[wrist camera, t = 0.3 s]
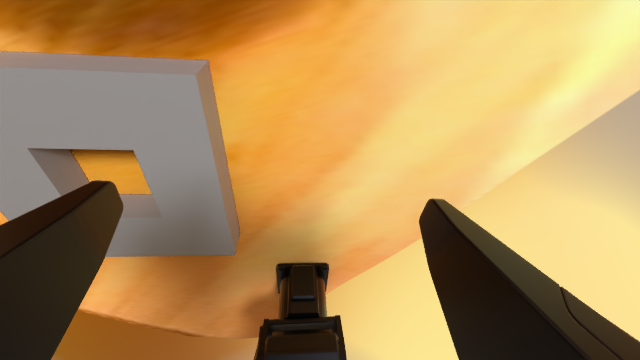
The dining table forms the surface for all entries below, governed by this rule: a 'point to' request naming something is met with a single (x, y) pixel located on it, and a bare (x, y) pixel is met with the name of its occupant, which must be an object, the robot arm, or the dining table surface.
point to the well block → (120, 145)
